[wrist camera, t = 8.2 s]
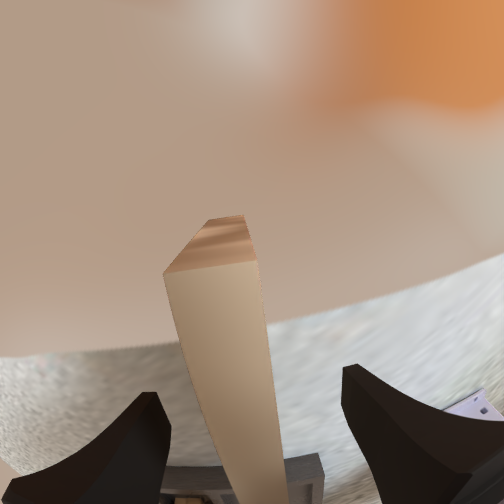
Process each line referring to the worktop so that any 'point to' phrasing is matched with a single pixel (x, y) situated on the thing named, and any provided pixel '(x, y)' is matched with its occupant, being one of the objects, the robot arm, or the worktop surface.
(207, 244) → the birch sheet
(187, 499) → the oak offcuts
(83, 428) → the worktop surface
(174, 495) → the rack
